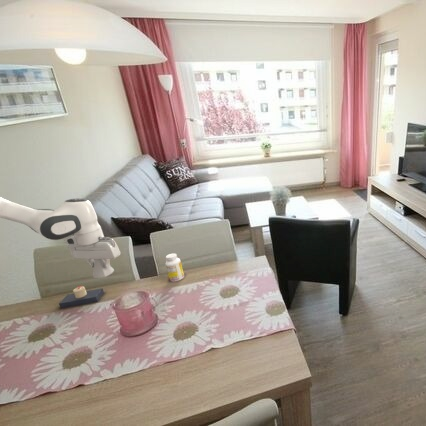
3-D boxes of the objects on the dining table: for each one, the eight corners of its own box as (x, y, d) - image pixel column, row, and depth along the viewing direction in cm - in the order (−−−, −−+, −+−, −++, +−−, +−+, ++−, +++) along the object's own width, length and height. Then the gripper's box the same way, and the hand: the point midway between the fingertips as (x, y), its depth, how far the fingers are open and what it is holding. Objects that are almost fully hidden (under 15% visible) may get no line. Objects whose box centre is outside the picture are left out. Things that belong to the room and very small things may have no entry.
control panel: (61, 309, 126) (58, 303, 125) (69, 299, 132) (67, 294, 131) (97, 302, 129) (95, 296, 128) (104, 293, 135) (102, 288, 134)
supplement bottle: (180, 273, 148) (174, 251, 144) (187, 277, 145) (181, 254, 140) (167, 279, 143) (160, 256, 139) (174, 283, 140) (167, 260, 135)
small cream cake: (84, 296, 128) (81, 289, 127) (74, 299, 127) (70, 291, 126) (88, 292, 132) (85, 284, 131) (78, 294, 131) (75, 286, 130)
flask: (106, 278, 120) (98, 256, 117) (89, 279, 120) (80, 257, 117) (117, 269, 127) (110, 248, 124) (101, 270, 127) (94, 249, 124)
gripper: (118, 233, 119) (128, 263, 124) (76, 233, 122) (87, 262, 127) (105, 240, 113) (116, 271, 118) (61, 240, 117) (73, 270, 121)
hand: (100, 266), depth 122 cm, fingers closed on flask, 5 cm apart
